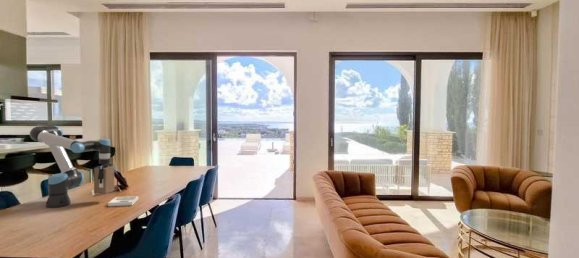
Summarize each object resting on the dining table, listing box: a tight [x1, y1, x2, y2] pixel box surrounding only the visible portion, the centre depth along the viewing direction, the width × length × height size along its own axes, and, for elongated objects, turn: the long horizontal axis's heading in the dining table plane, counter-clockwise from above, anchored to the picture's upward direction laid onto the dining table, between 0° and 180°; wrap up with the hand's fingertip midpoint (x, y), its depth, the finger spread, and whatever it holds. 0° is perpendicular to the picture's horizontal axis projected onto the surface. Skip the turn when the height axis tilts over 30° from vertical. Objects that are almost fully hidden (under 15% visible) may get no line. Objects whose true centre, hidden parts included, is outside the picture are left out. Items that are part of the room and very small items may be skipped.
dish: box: [107, 195, 139, 208], centre depth 242 cm, size 17×17×3 cm
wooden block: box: [93, 165, 115, 195], centre depth 244 cm, size 10×10×20 cm
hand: (104, 185), depth 244 cm, fingers closed on wooden block, 11 cm apart
